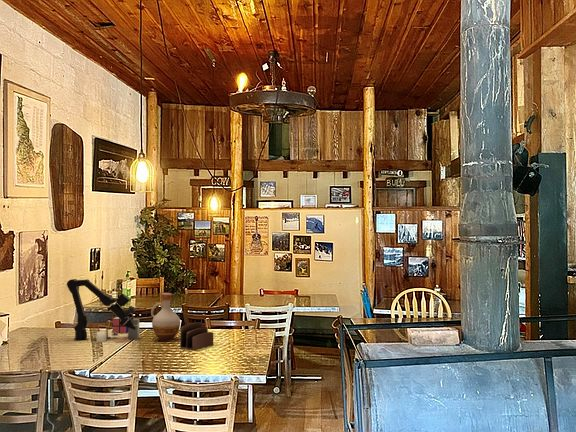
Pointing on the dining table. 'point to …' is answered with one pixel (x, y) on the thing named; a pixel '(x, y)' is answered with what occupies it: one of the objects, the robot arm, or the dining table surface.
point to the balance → (107, 331)
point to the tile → (121, 340)
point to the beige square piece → (101, 336)
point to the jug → (165, 320)
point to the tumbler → (134, 333)
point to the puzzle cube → (118, 326)
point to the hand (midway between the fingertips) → (135, 328)
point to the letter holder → (195, 336)
